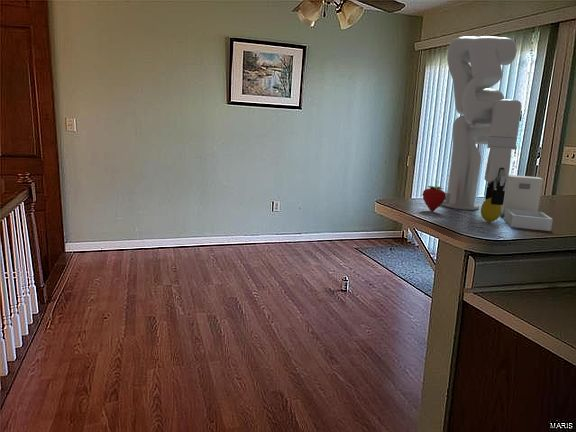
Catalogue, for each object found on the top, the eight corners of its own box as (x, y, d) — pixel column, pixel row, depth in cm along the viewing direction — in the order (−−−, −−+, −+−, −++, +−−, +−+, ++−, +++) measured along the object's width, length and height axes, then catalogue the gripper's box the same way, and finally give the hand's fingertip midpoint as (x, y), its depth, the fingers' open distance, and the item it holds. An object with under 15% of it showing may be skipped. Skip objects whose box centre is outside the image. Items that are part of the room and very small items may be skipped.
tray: (510, 226, 135) (512, 215, 134) (503, 219, 145) (505, 208, 144) (550, 231, 133) (552, 219, 132) (540, 223, 143) (542, 212, 142)
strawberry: (425, 208, 156) (429, 178, 154) (446, 212, 152) (450, 182, 149) (417, 210, 152) (420, 180, 150) (438, 214, 147) (442, 183, 145)
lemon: (475, 220, 141) (479, 194, 139) (493, 221, 142) (497, 195, 140) (484, 224, 136) (488, 198, 134) (502, 225, 136) (506, 199, 134)
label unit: (501, 217, 148) (507, 176, 145) (497, 213, 155) (503, 174, 152) (538, 221, 146) (546, 179, 143) (532, 216, 152) (539, 177, 150)
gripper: (483, 142, 142) (475, 197, 145) (493, 143, 126) (484, 205, 129) (509, 144, 141) (501, 199, 144) (523, 145, 124) (513, 207, 127)
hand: (493, 202), depth 136 cm, fingers open, 9 cm apart
